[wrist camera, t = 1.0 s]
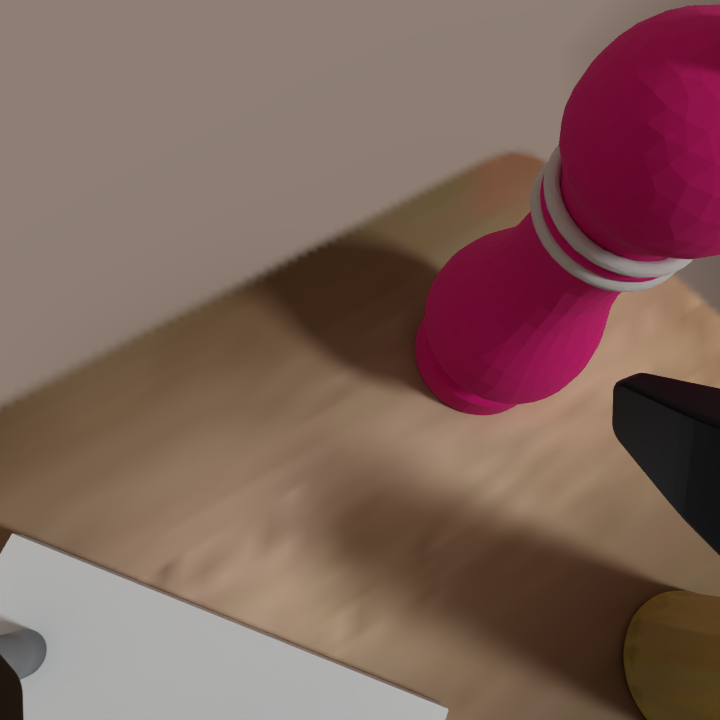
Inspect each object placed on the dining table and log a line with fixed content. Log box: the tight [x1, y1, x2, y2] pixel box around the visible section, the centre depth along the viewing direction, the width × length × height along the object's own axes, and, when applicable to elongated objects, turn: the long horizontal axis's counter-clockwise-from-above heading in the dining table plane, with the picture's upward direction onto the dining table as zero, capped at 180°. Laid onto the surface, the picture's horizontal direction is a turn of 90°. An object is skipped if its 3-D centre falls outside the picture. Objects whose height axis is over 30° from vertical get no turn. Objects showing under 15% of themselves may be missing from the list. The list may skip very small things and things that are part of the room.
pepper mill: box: [415, 5, 720, 415], centre depth 20 cm, size 7×7×20 cm
